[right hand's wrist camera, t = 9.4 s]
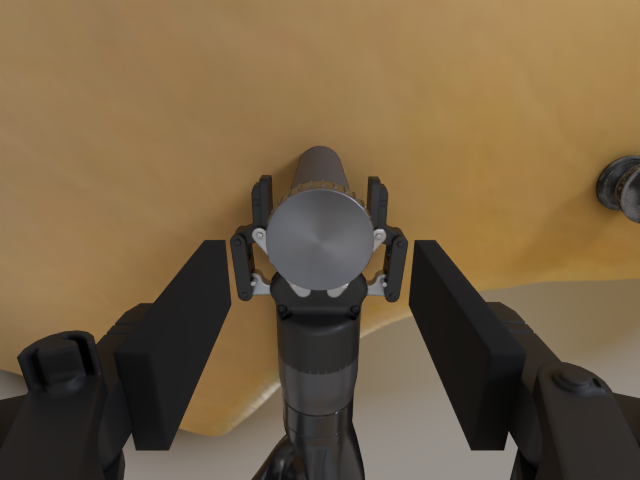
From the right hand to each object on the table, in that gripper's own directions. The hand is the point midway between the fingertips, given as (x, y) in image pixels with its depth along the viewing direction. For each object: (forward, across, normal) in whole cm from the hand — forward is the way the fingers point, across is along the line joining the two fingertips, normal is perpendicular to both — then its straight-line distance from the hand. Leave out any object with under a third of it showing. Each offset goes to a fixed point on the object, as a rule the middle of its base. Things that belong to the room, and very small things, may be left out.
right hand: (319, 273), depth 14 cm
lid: (+4, 0, 0) cm, 4 cm away
